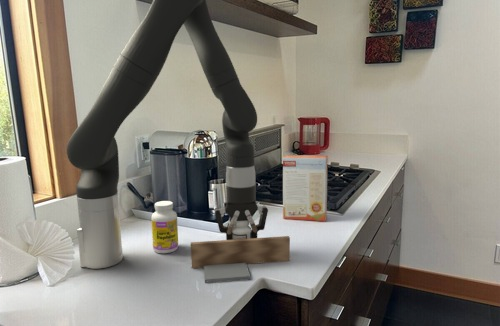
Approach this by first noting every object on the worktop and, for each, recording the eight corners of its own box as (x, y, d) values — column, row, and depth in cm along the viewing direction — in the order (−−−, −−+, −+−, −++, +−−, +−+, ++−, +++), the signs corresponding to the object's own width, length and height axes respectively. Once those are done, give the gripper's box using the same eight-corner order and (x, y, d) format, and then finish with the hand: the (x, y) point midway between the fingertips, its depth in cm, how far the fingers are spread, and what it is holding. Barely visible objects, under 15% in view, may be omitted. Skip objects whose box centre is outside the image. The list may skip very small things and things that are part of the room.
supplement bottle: (153, 255, 97) (150, 207, 95) (152, 246, 103) (149, 201, 101) (179, 252, 99) (177, 205, 97) (177, 243, 105) (175, 198, 103)
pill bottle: (240, 246, 103) (240, 214, 101) (255, 250, 99) (255, 218, 98) (227, 252, 99) (226, 219, 97) (242, 257, 95) (242, 224, 94)
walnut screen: (191, 268, 90) (190, 244, 89) (191, 265, 91) (190, 242, 90) (289, 260, 93) (289, 237, 92) (288, 258, 94) (288, 236, 93)
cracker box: (326, 216, 127) (328, 155, 123) (325, 222, 121) (326, 158, 117) (285, 213, 130) (285, 154, 127) (282, 219, 125) (282, 156, 121)
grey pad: (204, 283, 82) (204, 279, 82) (204, 268, 89) (204, 265, 89) (250, 279, 84) (250, 276, 84) (246, 265, 91) (246, 262, 91)
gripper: (213, 187, 91) (215, 253, 94) (271, 184, 93) (271, 249, 96) (211, 180, 98) (213, 242, 101) (265, 178, 100) (266, 238, 103)
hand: (241, 245), depth 99 cm, fingers closed on pill bottle, 5 cm apart
